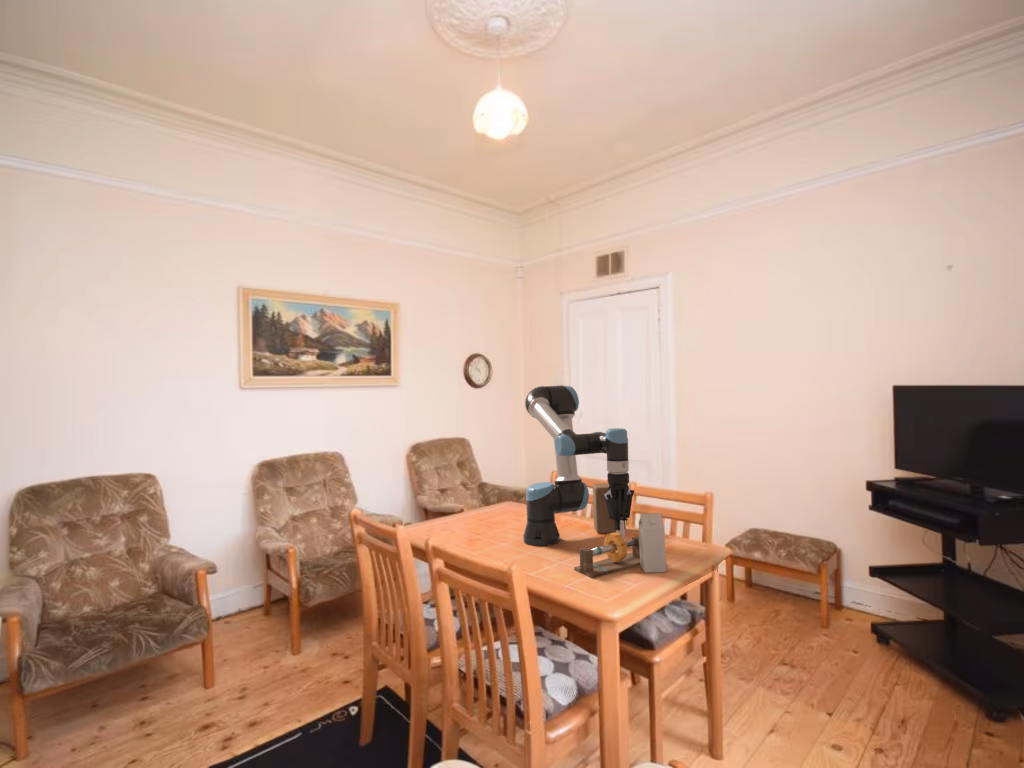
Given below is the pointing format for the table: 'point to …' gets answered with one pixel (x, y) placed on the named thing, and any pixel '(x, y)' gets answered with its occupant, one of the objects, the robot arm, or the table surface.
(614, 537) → the ring
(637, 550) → the rack
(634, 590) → the table surface
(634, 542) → the pipe
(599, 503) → the wooden block
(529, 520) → the robot arm
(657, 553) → the milk carton
